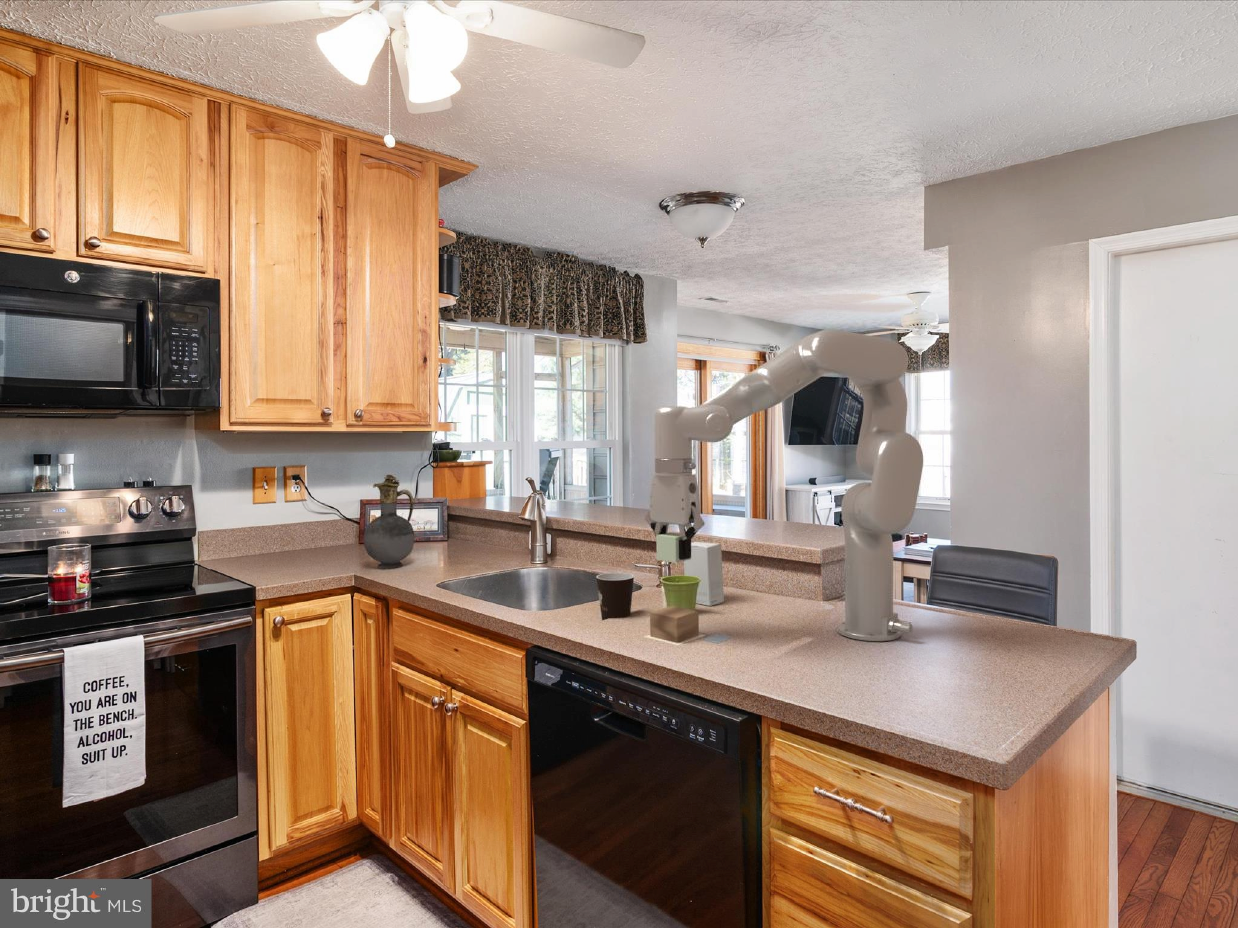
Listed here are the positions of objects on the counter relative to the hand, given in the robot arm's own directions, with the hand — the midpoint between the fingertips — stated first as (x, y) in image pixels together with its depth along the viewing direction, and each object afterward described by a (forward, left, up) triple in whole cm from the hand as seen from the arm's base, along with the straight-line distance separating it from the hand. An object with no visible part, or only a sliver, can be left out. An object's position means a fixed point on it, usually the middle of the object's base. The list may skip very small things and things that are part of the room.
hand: (674, 556), depth 148 cm
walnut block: (0, 0, -16) cm, 16 cm away
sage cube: (0, 0, -1) cm, 1 cm away
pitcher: (+123, -6, -18) cm, 124 cm away
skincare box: (+16, -31, -18) cm, 39 cm away
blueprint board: (-1, -1, -18) cm, 18 cm away
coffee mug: (+22, -6, -18) cm, 29 cm away
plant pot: (+12, -17, -18) cm, 27 cm away
